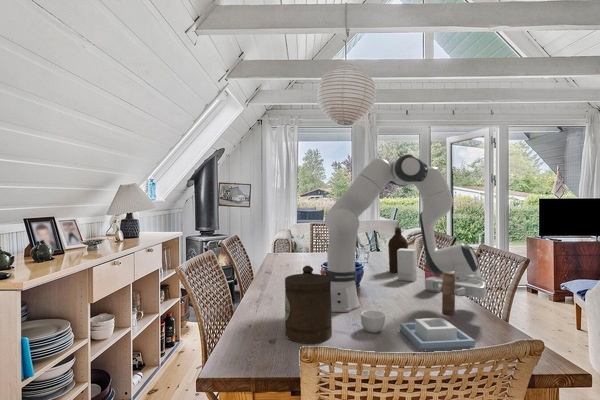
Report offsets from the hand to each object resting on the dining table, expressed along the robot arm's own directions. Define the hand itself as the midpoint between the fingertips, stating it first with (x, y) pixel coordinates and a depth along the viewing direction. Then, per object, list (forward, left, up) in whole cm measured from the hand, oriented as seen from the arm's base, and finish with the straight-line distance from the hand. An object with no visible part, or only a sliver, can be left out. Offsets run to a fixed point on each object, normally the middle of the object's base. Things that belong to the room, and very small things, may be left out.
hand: (447, 291), depth 127 cm
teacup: (-26, 0, -12) cm, 28 cm away
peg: (+1, +1, -8) cm, 8 cm away
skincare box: (+11, +64, -12) cm, 66 cm away
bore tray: (-10, -11, -12) cm, 19 cm away
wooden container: (-48, -2, -12) cm, 49 cm away
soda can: (+15, +43, -12) cm, 47 cm away
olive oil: (+13, +82, -12) cm, 84 cm away
